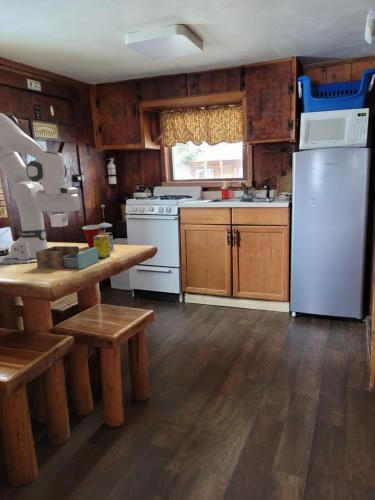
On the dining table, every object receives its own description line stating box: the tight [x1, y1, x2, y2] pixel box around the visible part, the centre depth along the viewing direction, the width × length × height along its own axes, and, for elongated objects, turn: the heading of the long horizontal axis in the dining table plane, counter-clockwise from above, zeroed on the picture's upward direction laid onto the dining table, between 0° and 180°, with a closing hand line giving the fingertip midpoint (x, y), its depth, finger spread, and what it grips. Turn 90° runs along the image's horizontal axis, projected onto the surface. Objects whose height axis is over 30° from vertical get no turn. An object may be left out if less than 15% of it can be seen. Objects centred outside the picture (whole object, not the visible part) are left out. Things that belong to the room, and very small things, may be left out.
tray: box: [63, 247, 99, 270], centre depth 177 cm, size 13×15×7 cm
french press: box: [97, 204, 116, 253], centre depth 207 cm, size 10×12×25 cm
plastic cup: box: [81, 224, 101, 248], centre depth 224 cm, size 11×11×12 cm
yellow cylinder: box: [93, 234, 111, 259], centre depth 192 cm, size 6×6×11 cm
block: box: [49, 213, 69, 228], centre depth 169 cm, size 5×5×5 cm
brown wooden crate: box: [35, 245, 80, 270], centre depth 179 cm, size 13×14×8 cm
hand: (59, 221), depth 169 cm, fingers closed on block, 5 cm apart
